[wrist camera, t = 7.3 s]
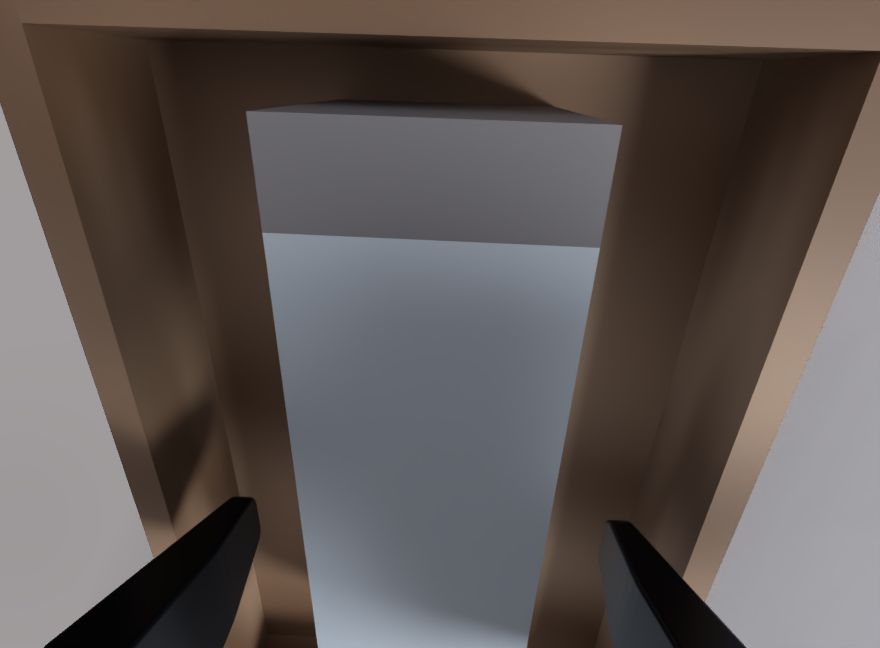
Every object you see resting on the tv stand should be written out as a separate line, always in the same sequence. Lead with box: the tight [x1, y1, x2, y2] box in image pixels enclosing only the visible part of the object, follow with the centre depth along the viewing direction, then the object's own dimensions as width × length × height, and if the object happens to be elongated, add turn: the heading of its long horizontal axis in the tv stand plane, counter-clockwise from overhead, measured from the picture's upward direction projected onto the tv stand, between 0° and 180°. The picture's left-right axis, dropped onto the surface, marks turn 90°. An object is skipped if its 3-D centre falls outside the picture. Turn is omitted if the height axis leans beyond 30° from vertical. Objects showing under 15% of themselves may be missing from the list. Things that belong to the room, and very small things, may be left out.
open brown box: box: [0, 0, 880, 648], centre depth 10 cm, size 17×11×3 cm, turn 178°
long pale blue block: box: [246, 99, 623, 648], centre depth 9 cm, size 13×4×4 cm, turn 178°
